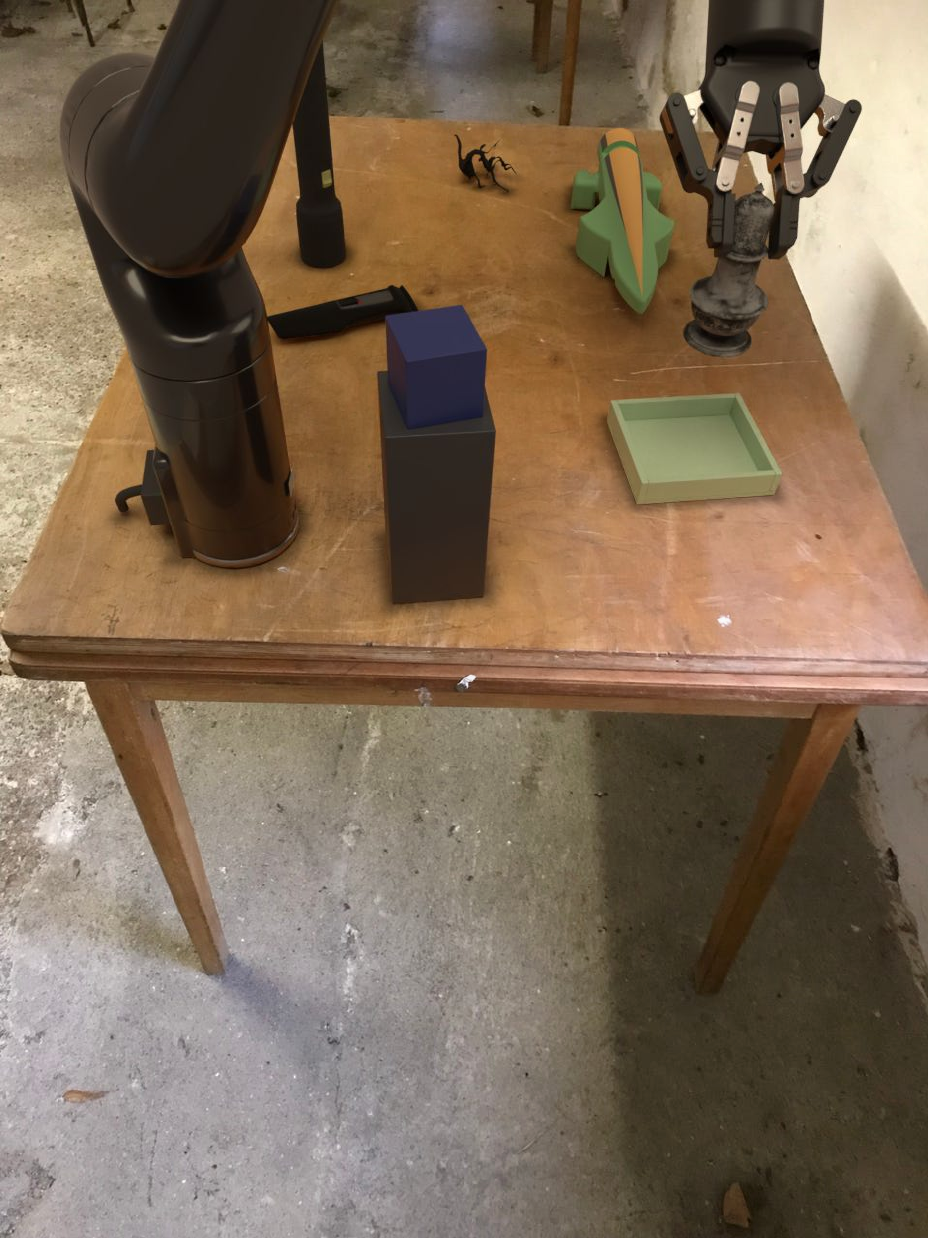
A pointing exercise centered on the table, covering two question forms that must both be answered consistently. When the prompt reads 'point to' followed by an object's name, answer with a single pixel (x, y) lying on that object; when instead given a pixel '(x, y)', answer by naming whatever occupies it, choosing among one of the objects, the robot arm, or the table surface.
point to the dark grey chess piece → (733, 284)
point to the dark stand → (435, 502)
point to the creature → (467, 164)
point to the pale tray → (691, 448)
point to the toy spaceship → (622, 219)
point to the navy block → (435, 366)
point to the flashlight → (317, 176)
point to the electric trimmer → (342, 313)
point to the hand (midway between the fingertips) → (750, 254)
